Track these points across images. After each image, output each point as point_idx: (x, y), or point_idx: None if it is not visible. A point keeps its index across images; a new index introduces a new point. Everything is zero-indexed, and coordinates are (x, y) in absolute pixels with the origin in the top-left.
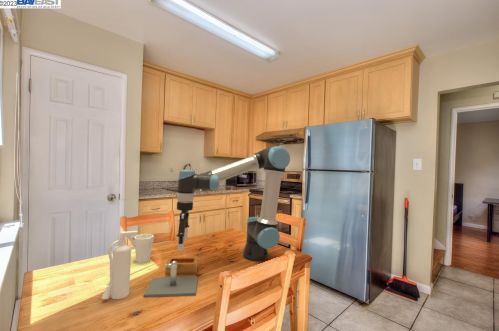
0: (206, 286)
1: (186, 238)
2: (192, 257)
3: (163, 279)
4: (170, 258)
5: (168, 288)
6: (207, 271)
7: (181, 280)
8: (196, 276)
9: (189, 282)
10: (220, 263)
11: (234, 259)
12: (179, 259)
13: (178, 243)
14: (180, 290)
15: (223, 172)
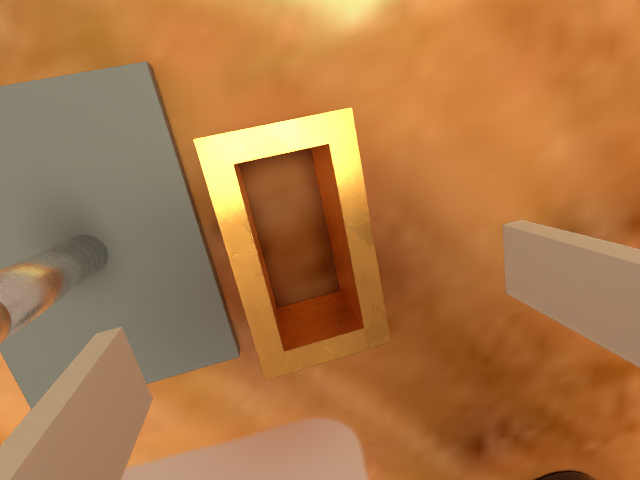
0: (161, 422)
1: (531, 300)
2: (379, 307)
3: (138, 158)
4: (331, 131)
5: (26, 245)
6: (338, 368)
7: (159, 283)
8: (236, 349)
9: (149, 338)
10: (446, 400)
11: (500, 450)
12: (340, 212)
13: (33, 425)
14: (29, 327)
15: None
